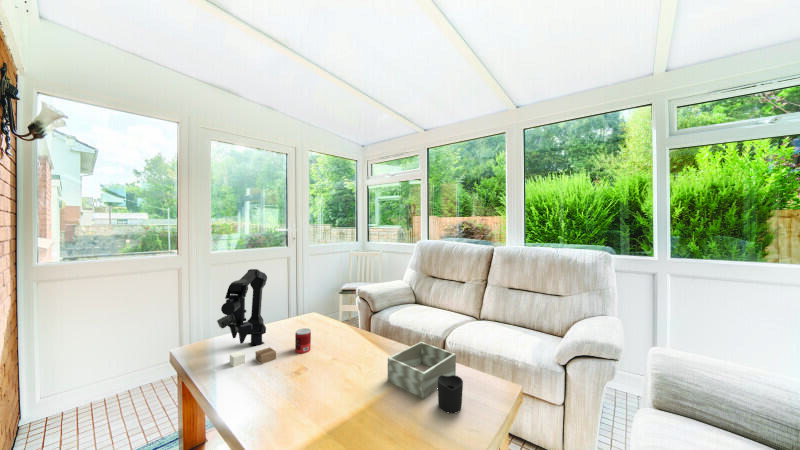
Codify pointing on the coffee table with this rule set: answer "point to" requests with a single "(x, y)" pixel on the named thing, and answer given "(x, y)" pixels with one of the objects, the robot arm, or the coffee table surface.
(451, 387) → the pen holder
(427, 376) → the toy crate
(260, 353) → the walnut base
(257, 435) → the coffee table surface
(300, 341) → the canned food
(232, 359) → the cream cube
